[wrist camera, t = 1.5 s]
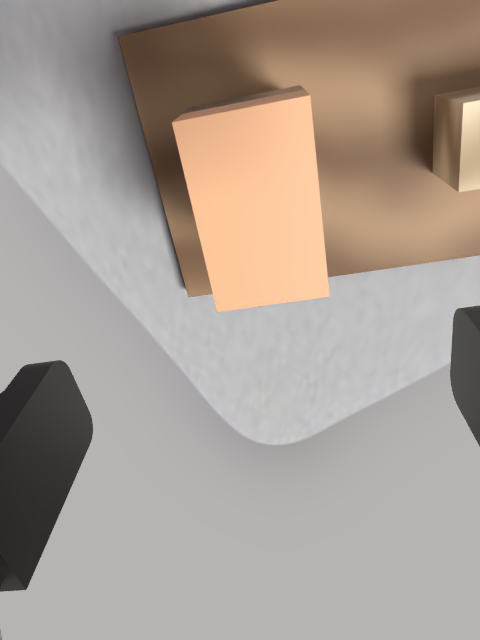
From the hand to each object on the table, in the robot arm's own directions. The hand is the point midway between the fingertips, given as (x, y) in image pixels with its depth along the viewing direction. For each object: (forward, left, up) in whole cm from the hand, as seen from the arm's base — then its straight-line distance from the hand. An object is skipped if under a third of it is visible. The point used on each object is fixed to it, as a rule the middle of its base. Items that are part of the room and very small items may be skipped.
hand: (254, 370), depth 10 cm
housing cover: (0, 0, -13) cm, 13 cm away
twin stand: (0, +6, -20) cm, 21 cm away
